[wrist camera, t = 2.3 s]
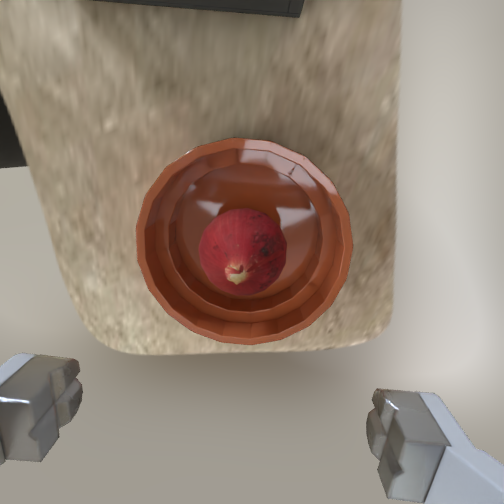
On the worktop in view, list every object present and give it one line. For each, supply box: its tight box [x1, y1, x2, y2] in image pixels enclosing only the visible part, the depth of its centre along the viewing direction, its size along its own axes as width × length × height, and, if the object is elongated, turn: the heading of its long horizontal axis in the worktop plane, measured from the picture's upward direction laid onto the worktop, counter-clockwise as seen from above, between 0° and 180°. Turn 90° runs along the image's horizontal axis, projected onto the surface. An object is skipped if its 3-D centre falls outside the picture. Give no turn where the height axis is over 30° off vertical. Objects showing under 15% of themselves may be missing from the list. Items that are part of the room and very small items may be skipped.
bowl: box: [136, 138, 353, 345], centre depth 22 cm, size 14×14×4 cm
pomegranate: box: [199, 208, 287, 295], centre depth 20 cm, size 6×6×8 cm
